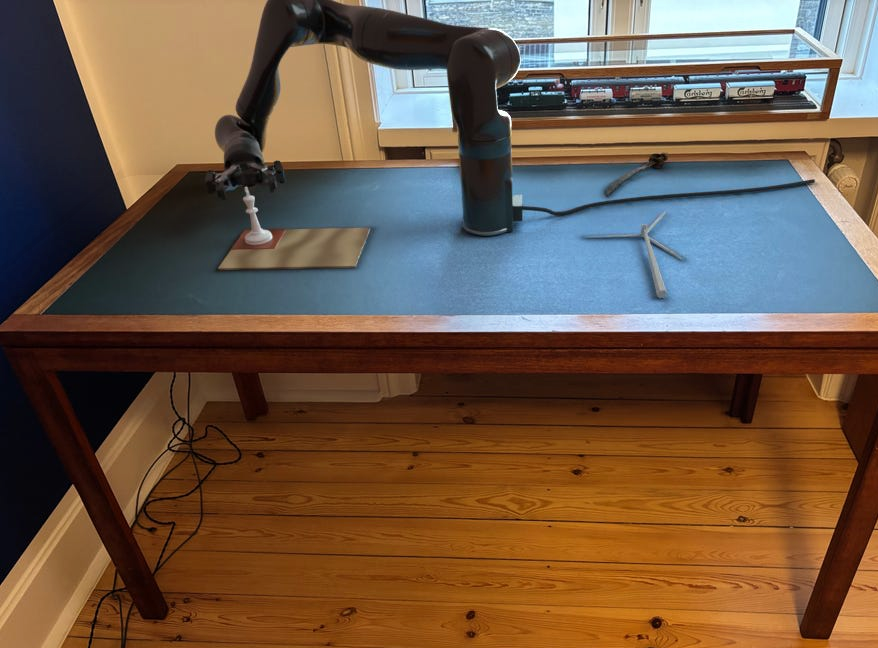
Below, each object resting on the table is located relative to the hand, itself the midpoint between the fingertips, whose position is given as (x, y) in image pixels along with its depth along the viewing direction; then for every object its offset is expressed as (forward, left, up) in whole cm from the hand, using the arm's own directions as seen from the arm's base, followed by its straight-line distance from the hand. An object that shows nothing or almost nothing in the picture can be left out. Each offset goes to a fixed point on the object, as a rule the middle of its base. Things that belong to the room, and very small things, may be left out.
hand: (247, 191), depth 131 cm
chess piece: (-1, +3, -8) cm, 9 cm away
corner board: (-9, +7, -8) cm, 14 cm away
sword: (-73, -23, -9) cm, 78 cm away
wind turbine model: (-68, +11, -9) cm, 70 cm away
